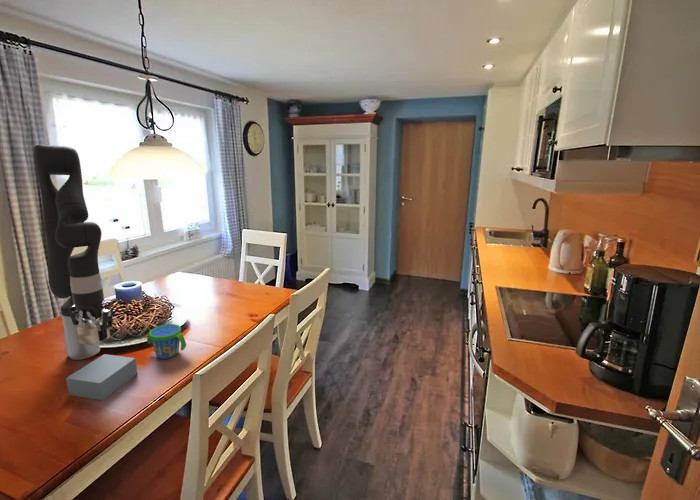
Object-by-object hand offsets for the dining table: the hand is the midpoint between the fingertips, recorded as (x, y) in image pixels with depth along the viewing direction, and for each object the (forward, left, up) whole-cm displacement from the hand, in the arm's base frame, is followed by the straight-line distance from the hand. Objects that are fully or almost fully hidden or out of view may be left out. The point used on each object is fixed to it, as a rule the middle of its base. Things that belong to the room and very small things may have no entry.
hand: (94, 338), depth 109 cm
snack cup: (+8, +21, -17) cm, 28 cm away
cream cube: (0, 0, -1) cm, 1 cm away
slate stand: (0, +1, -17) cm, 17 cm away
